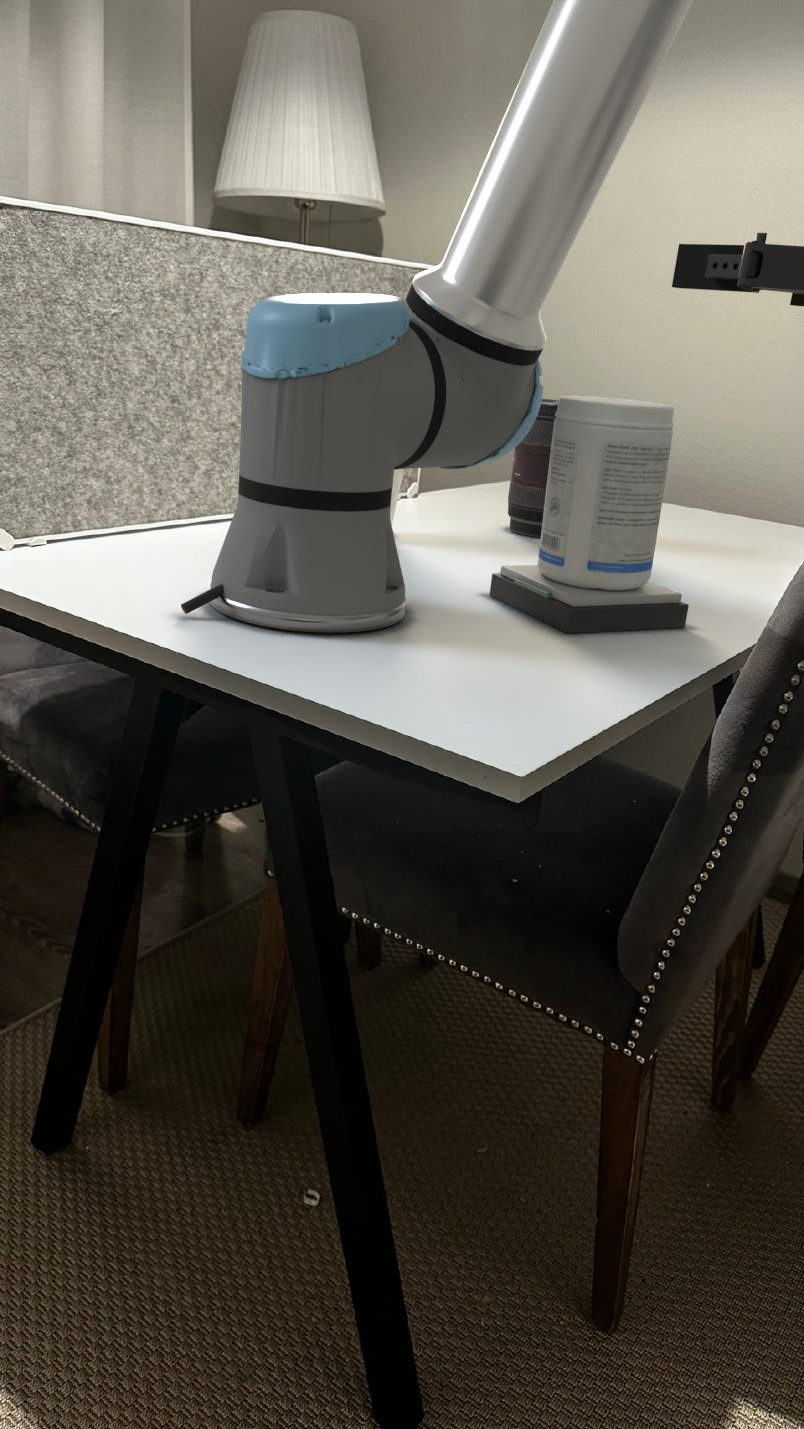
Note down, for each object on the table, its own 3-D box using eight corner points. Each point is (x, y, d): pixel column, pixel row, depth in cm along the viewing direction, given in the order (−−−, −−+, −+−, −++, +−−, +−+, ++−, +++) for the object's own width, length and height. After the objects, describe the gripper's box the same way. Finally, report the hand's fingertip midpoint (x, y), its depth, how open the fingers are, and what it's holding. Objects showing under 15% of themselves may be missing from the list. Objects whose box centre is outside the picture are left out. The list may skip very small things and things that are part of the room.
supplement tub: (658, 579, 95) (688, 405, 90) (635, 600, 87) (667, 409, 82) (551, 561, 99) (575, 392, 94) (519, 579, 90) (543, 394, 85)
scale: (567, 633, 86) (572, 599, 85) (489, 595, 96) (493, 564, 95) (685, 627, 91) (691, 595, 91) (599, 592, 101) (603, 562, 100)
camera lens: (490, 525, 130) (506, 395, 125) (549, 526, 134) (566, 399, 129) (524, 539, 124) (541, 402, 119) (584, 540, 127) (604, 407, 122)
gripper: (918, 345, 56) (612, 318, 71) (1117, 371, 71) (828, 344, 86) (958, 184, 53) (631, 192, 69) (1156, 245, 68) (850, 241, 84)
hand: (740, 276), depth 78 cm, fingers open, 13 cm apart
